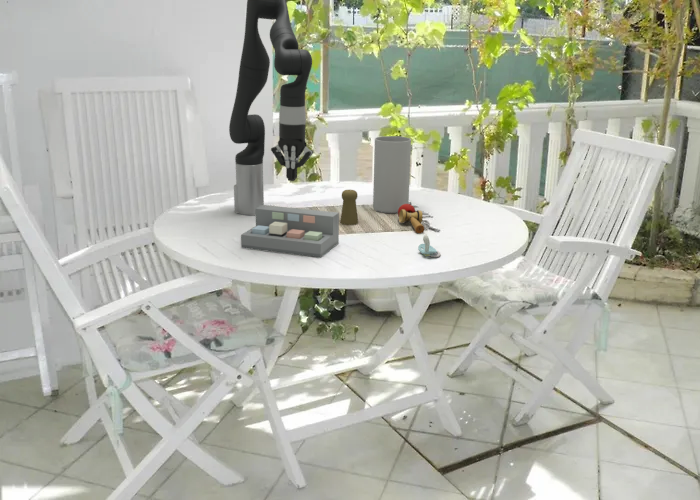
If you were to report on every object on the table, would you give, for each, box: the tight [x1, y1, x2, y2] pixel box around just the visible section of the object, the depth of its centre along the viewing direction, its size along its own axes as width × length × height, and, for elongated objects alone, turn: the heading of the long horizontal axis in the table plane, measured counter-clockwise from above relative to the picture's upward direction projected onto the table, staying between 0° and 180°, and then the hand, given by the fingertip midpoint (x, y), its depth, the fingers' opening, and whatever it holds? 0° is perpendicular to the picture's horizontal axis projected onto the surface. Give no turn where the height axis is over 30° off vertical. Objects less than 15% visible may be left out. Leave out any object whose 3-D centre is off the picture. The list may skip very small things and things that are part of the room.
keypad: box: [240, 204, 340, 259], centre depth 223 cm, size 25×15×10 cm, turn 71°
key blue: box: [251, 225, 269, 235], centre depth 224 cm, size 4×4×4 cm
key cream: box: [269, 222, 287, 237], centre depth 222 cm, size 4×4×4 cm
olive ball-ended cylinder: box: [339, 189, 359, 226], centre depth 248 cm, size 6×6×11 cm
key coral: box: [287, 229, 305, 239], centre depth 221 cm, size 4×4×4 cm
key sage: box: [304, 231, 322, 241], centre depth 219 cm, size 4×4×4 cm
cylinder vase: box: [372, 135, 412, 214], centre depth 263 cm, size 12×12×25 cm
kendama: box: [397, 203, 425, 234], centre depth 247 cm, size 8×6×18 cm
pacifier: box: [418, 234, 442, 258], centre depth 218 cm, size 7×6×6 cm
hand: (291, 180), depth 221 cm, fingers closed
